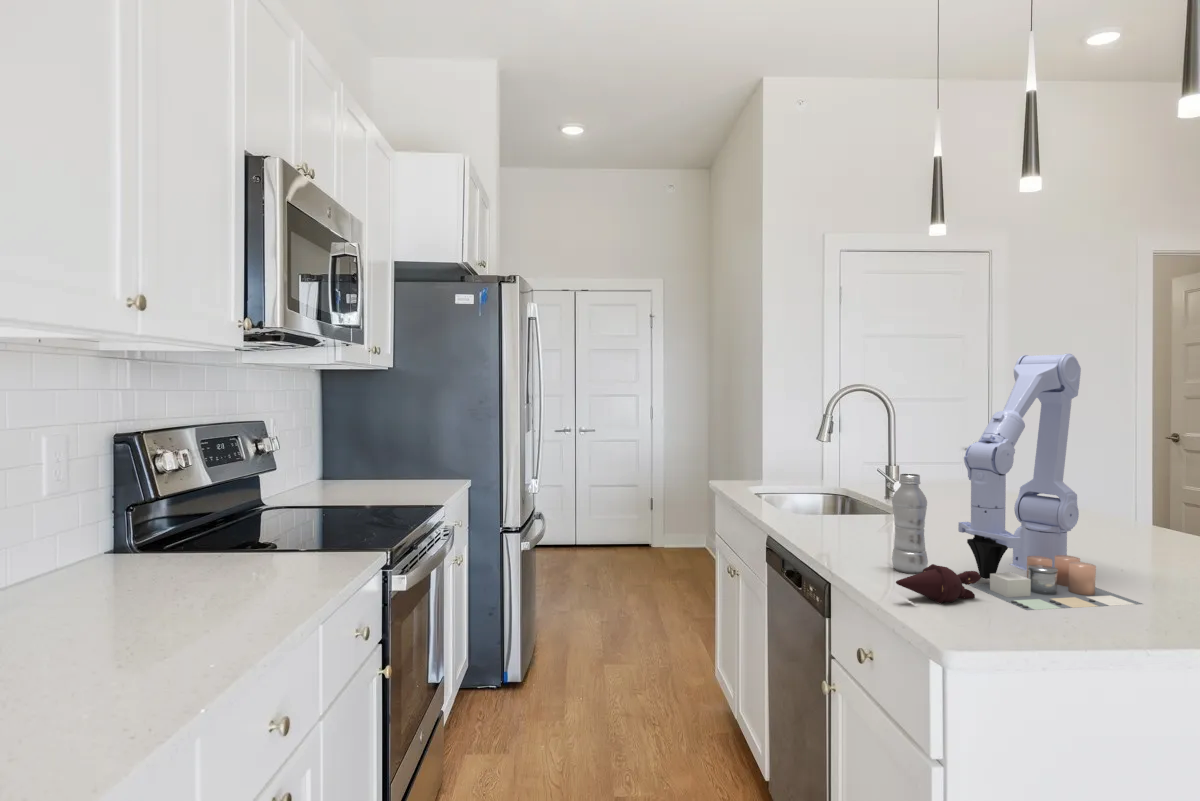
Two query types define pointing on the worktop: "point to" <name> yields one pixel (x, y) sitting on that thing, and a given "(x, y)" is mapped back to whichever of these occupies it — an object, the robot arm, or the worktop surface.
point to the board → (1061, 599)
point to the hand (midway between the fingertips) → (987, 577)
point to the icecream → (941, 583)
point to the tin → (1043, 579)
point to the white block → (1010, 584)
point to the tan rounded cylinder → (1082, 578)
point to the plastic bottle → (909, 526)
